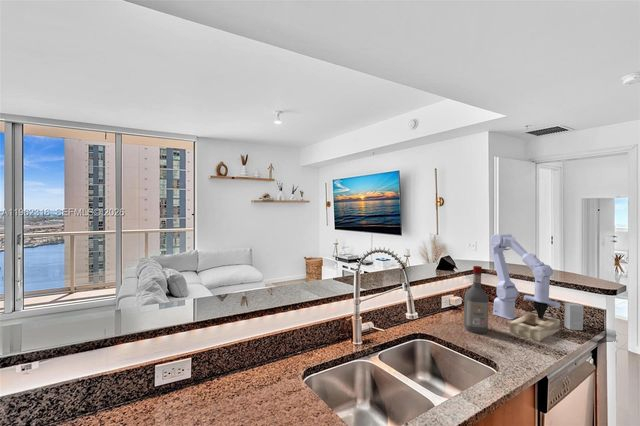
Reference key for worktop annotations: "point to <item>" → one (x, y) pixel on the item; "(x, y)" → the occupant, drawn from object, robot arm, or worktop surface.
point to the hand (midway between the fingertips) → (540, 318)
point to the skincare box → (573, 316)
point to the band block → (535, 328)
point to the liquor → (476, 305)
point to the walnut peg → (530, 319)
